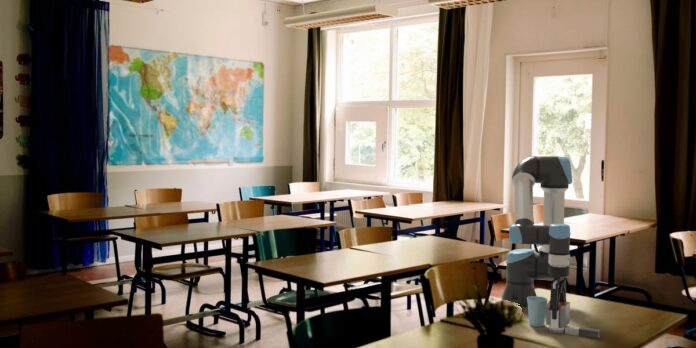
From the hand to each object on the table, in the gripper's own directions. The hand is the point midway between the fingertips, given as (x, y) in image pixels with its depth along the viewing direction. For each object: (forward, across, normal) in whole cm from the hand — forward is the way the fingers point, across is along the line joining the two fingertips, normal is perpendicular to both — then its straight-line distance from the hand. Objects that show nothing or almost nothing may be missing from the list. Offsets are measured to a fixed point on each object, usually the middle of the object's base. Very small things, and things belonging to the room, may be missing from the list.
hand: (557, 324), depth 256 cm
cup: (+3, +5, +9) cm, 11 cm away
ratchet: (+3, 0, -6) cm, 7 cm away
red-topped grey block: (0, 0, 0) cm, 0 cm away
